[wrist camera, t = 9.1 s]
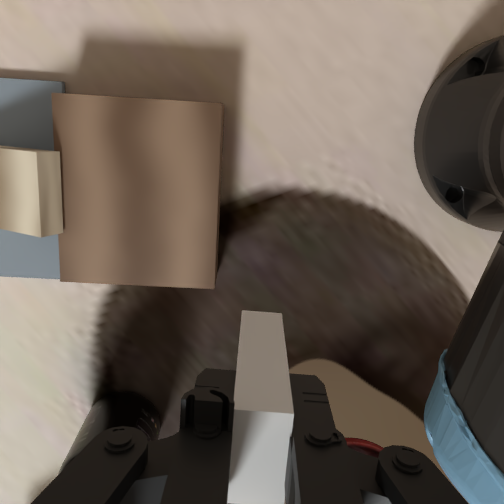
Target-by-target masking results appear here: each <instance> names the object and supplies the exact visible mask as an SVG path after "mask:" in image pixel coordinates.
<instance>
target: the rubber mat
mask: <svg viewBox="0 0 504 504" xmlns="http://www.w3.org/2000/svg"><path fill="white" fill-rule="evenodd" d="M51 93H65V83H64V82H58V81H42V80H26V79H10V78H0V145H1V146H10V147H20V148H30V149H39V150H49V151H54V138H53V117H52V96H51ZM0 276H4V277H24V278H45V279H60V263H59V242H58V234H56V235H51V236H46V237H36V236H31V235H27V234H22V233H17V232H13V231H8V230H3V229H0Z"/></svg>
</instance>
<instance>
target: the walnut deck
mask: <svg viewBox="0 0 504 504" xmlns="http://www.w3.org/2000/svg"><path fill="white" fill-rule="evenodd" d="M51 96H52V117H53V138H54V151H59V152H60V169H61V192H62V215H63V233H60V234H58V242H59V263H60V282H80V283H101V284H121V285H141V286H161V287H182V288H202V289H215V283H216V278H217V266H218V242H219V218H220V194H221V169H222V145H223V121H224V105H223V104H222V103H211V102H195V101H179V100H162V99H146V98H130V97H114V96H98V95H82V94H66V93H51Z"/></svg>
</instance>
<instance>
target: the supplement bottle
mask: <svg viewBox="0 0 504 504" xmlns="http://www.w3.org/2000/svg"><path fill="white" fill-rule="evenodd" d="M121 426H126V427H134V428H136V429H139V430H141V431H142V432H143V433H144V434H145V435H146V436H147V440H148V441H154V440H158V437H159V432H160V418H159V415H158V412H157V410H156V408H155V407H154V406H153V404H152V403H151V402H150V401H148V400H147V399H146V398H144V397H143V396H141V395H138V394H136V393H132V392H114V393H111V394H108V395H106V396H104V397H102V398H101V399H99V400H98V401H97V402H96V403H95V404H94V405H93V407H92V408H91V410H90V412H89V414H88V415H87V417H86V419H85V421H84V423H83V425H82V427H81V429H80V431H79V433H78V435H77V437H76V439H75V441H74V443H73V445H72V447H71V449H70V451H69V453H68V454H67V456H66V458H65V460H64V462H63V464H62V466H61V469H60V471H59V474H60V473H61V472H62V471H63V470H64V469H65V467H66V466H67V465H68V464H69V463H70V462H71V461H72V460H73V459H74V458H75V457H76V456H77V455H78V454H79V453H80V452H81V451H82V450H83V449H84V448H85V447H86V445H87V444H88V443H89V442H90V441H91V440H92V439H93V438H94V437H95V436H97V435H98V434H99V433H101V432H102V431H105V430H107V429H110V428H113V427H121ZM59 474H58V475H59Z"/></svg>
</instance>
